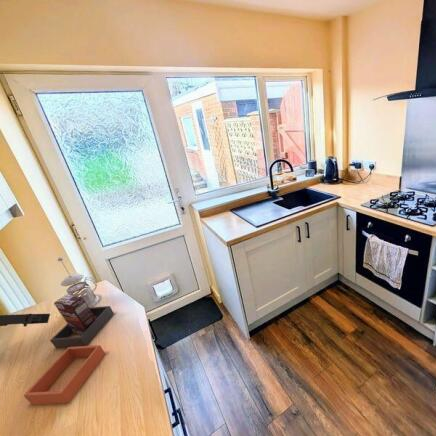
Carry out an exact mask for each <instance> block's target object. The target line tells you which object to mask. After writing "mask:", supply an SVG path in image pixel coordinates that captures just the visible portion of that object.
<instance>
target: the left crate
mask: <svg viewBox="0 0 436 436" xmlns="http://www.w3.org/2000/svg"><path fill="white" fill-rule="evenodd" d="M105 355H106V352H105V351H104V349H103V347H102V346H101V345H100V344H97V345H87V346H79V347H68V348H65V350H64V351H63V352H62V353H61V354H60V355H59V356H58V358H57V359H55V361H54V362H53V363H52V364H51V365H50V366H49V367H48V368H47V369H46V371H45V372H43V374H42V375H41V376H40V377H39V378H38V379H37V380H36V381H35V382H34V383H33V384H32V385H31V386H30V387H29V388H28V389H27V391H26V392H25V393H24V394H23V397H24V398H25V399H26V401H27V402H29V404H31V405H33V406H34V405H49V404H50V405H51V404H52V405H53V404H69V403H70V402H71V400H72V399H73V398H74V397H75V395H76V394H77V393H78V392H79V390H80V388H81V387H82V386H83V385H84V383H85V382H86V380H87V379H88V378H89V377H90V375H91V374H92V372H93V371H94V370H95V369H96V367H97V366H98V364H99V363H100V362H101V361H102V359H103V358H104V357H105ZM76 358H86V359H85V360H84V362H83V363H82V364H81V365H80V367H79V368H78V369H77V371H75V373H74V374H73V375H72V376H71V378H70V379H69V380H68V382H67V383H66V384H65V386H64V387H62V388H61V389H60V390H53V391H52V390H50V391H47V390H48V389H49V388H50V387H51V386H52V384H54V382H55V381H56V380H57V379H58V377H59V376H60V375H61V374H62V373H63V372H64V371H65V369H66V368H67V367H68V366H69V365H70V364H71V362H72V361H74V359H76Z"/></svg>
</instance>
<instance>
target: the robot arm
mask: <svg viewBox="0 0 436 436" xmlns="http://www.w3.org/2000/svg"><path fill="white" fill-rule="evenodd" d="M50 316H51V313H24V314H23V313H22V314H21V313H20V314H0V327H7V326H9V325H10V326H11V325H23V327H27V325H36V324H37V325H38V324H48V323H49V320H50Z"/></svg>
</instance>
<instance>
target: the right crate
mask: <svg viewBox="0 0 436 436" xmlns="http://www.w3.org/2000/svg"><path fill="white" fill-rule="evenodd" d="M89 309H90V310H91V312H92V314H93V315H94V317H95V319H96V320H95V321H94V322H93V323H92V324H91V325H90V326H89V327H88V328H87V330H86V331H85V332H84V333H83V334H80V336H72V335H73V334H74V333H73V331H72V330H71V328H70V327H69V325H68V324H67V323H65V325H64V326H62V328H61V329H60V330H59V331H57V333H55V335H54V336H52V338H51V339H50V340H49V342H50V343H51V344H52V345H53V347H54V348H55V350H57V349H67V348H68V347H79V346H89V344H90V343H91V342H92V341H93V339H94V338H95V337H96V336H97V335H98V334H99V332H100V331H101V330H102V329H103V328H104V326H105V325H107V324H108V322H109V321H110V320H111V318H112V317H113V316H114V315H115V313H114V310H113V309H112V307H111V306H110V305H105V306H104V305H103V306H92V307H89ZM96 317H97V318H96Z"/></svg>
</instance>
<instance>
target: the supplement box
mask: <svg viewBox="0 0 436 436" xmlns="http://www.w3.org/2000/svg"><path fill="white" fill-rule="evenodd" d="M53 305H54V306H55V308H56V309H57V310H58V312H59V313H60V315H61V316H62V318H63V319H64V321H65V323H66V324H68V325H69V327H70V328H71V330H72V331H73V334H77V335H82V334H83V333H84V332H85V331H86V330H87V328H88V327H89V326H90V325H91V324H92V323H93V322H94V321H95V320H96V319H97V318H96V317H94V315H93V314H92V312H91V310H90V309H89V307H88V305H87V304H86V302H85V300H84V298H83V297H80V296H78V297H77V296H70V295H68V294H64V295H63V296H62V297H60V298H59V299H57V300H55V301H54V302H53Z"/></svg>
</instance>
